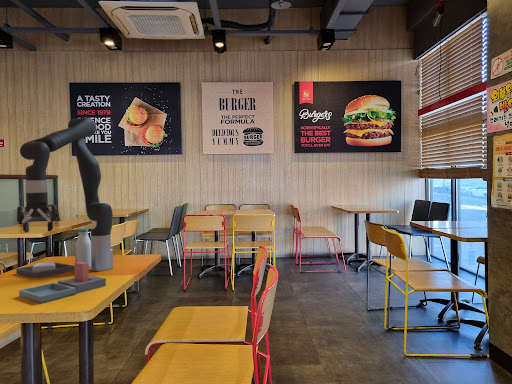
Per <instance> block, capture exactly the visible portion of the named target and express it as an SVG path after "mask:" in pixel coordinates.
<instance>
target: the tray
mask: <svg viewBox="0 0 512 384" xmlns="http://www.w3.org/2000/svg"><path fill="white" fill-rule="evenodd" d="M18 293H19V294H18V296H19V298H22V299H24V300H28V301H31V302H33V303H37V304H40V305H42V304H45V303H48V302H52V301H56V300H61V299H65V298H69V297H72V296H76V295H77V293H76V288H75V287H71V286H67V285H63V284H59V283H58V282H54V281H53V282H50V283H45V284H41V285H36V286H32V287H28V288H23V289H19V291H18Z"/></svg>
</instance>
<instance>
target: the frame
mask: <svg viewBox="0 0 512 384" xmlns="http://www.w3.org/2000/svg"><path fill="white" fill-rule="evenodd" d="M54 262H55V269H54V270H49V271H44V272H38V273H36V272H32V268H33V265H30V266H24V267H19V268H16V269H15V270H16V271H15V272H16V273H15V274H16V275H19V276H22V277H27V278H30V277H31V279H34V278H38V279H43V278H48V277H51V276H52V277H53V276H56V275H62V274H65V273H66V274H67V273H71V272H75V265H71V264H67V263H63V262H62V263H60V262H57V261H54ZM42 277H43V278H42Z"/></svg>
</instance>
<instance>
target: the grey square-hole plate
mask: <svg viewBox="0 0 512 384" xmlns="http://www.w3.org/2000/svg"><path fill="white" fill-rule="evenodd" d="M106 279H107V278H104V277H100V276H95V275H91V274H89V281H86V282H79V281H75V276H72V277H69V278H65V279H61V280H57V283H59V284H63V285H67V286H71V287H75V288H76V294H80V293H85V292H87V291H91V290H94V289H95V290H96V289H100V288H103V287H106V286H107V284H106V283H107V282H106V281H107V280H106Z"/></svg>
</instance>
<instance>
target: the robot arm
mask: <svg viewBox="0 0 512 384" xmlns="http://www.w3.org/2000/svg"><path fill="white" fill-rule="evenodd" d="M96 132H97V124H96V122H95V121H94V119H92V118H91V117H78V118H72V119H70V120H69V121H68V124H67V128H64V129H61V130H56V131H54V132H51V133H49V134H47V135H45V136H43V137H39V138H36V139H32V140H29V141H26V142H24V143H23V144H22V145H21V146H20V149H19V154H20V156H21V157H22V158H23V159H24V160H28V161H33V163H32V164H31V165H28V166H26V168H25V186H24V187H25V206H17V208H16V209H17V212H16V221H17V222H18V223H22V231H23V232H24V233H29V232H30V225H29V221H30V220H31V219H32V218H36V217H37V218H42V217H43V218H44V219H45V220H46V222H47V232H52V231H53V230H54V222H55V221H57V220H59V216H58V207H57V205H50V206H49V204H48V203H49V197H48V195H49V194H48V183H47V182H48V181H47V167H48V164H49V160H50V157H51V153H54V152H56V151H58V150H60V149H61V148H63V147H65V146H68V145H69V144H71V143H72V146H73V148H74V153H75V157H76V160H77V166H78V171H79V176H80V178H81V183H82V184H81V185H82V189H83V194H84V202H85V211H86V212H85V213H86V216H87V219H89V220H90V221H92V222H96V224H95V227H94V228H92V229H91V230H90V241H91V267H90V269H91V271H95V272H103V271H107V270H111V269H113V268H114V254H113V253H114V252H113V251H114V250H113V248H112V239H111V237H112V236H111V233H112V230H113V208H112V206H111V204H109V203H106V202H100V197H99V187H100V184H101V180H102V172H101V168H100V163H99V161H98V160H97V158H96V157H95V156H94V155H93V154H92V152H91V151H90V150H89V149H88V146H87V145H86V141H85V138H89V137H92V136H94V135H95V134H96ZM49 210H50V212H51V215H50V213H49V212H48V211H49ZM25 211H26V212H27V214H25V216H24V213H25Z"/></svg>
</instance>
